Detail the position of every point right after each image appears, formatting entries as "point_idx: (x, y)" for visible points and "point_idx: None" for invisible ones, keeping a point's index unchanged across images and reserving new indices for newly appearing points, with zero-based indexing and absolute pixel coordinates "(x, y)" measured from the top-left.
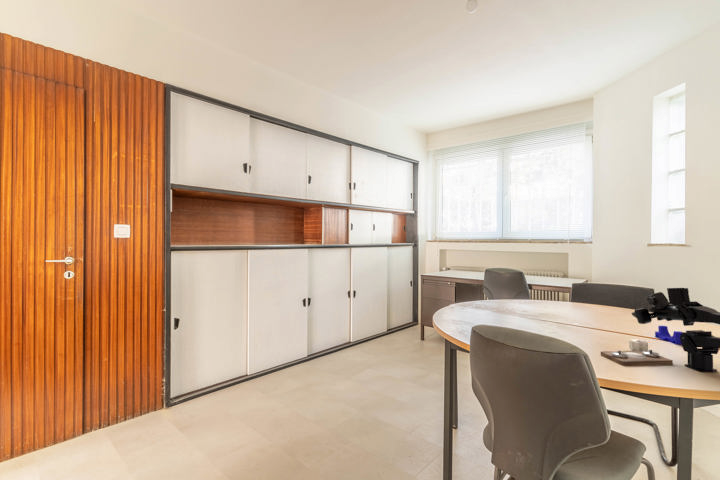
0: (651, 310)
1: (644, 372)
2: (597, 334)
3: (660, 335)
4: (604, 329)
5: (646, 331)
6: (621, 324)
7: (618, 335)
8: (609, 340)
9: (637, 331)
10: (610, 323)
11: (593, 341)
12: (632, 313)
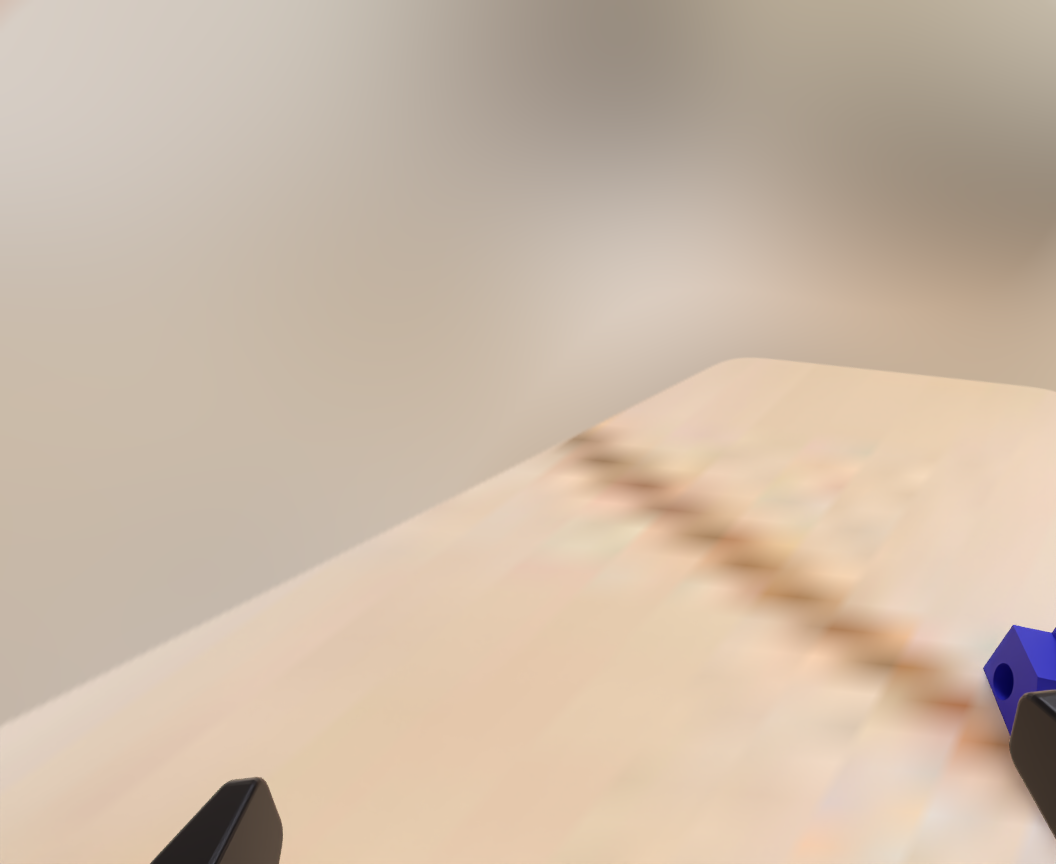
0: (1044, 781)
1: None
2: (437, 535)
3: None
4: (623, 447)
5: (963, 524)
6: (839, 389)
7: (622, 582)
8: (364, 716)
9: (880, 515)
10: (771, 367)
11: (119, 729)
12: (189, 851)
